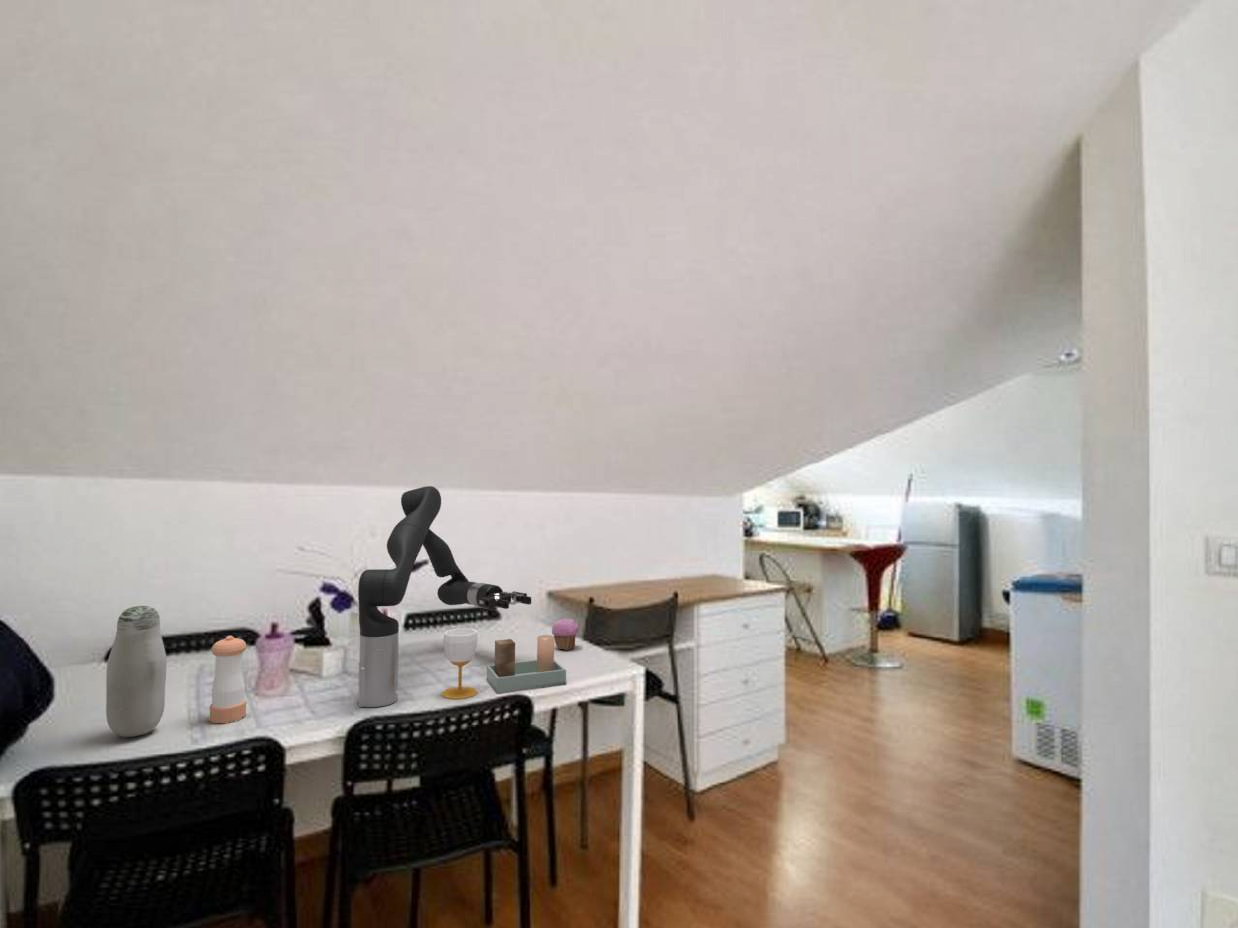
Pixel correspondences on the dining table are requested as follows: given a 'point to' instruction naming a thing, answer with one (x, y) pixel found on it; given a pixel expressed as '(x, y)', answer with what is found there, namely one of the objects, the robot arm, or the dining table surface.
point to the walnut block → (505, 658)
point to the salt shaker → (228, 681)
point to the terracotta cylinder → (545, 653)
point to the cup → (460, 658)
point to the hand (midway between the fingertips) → (519, 602)
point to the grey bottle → (136, 673)
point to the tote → (526, 677)
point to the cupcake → (565, 633)
